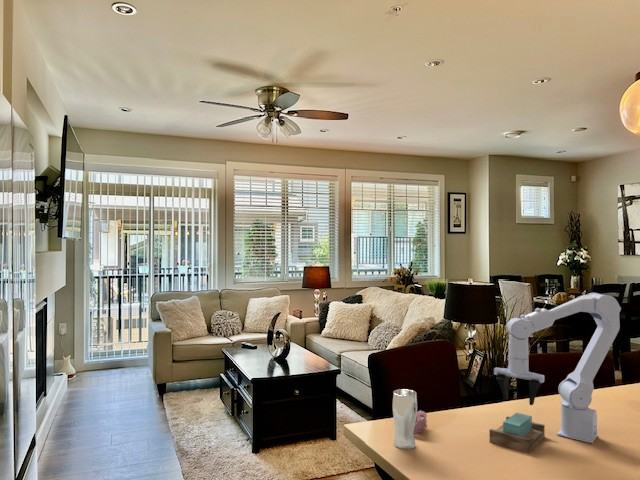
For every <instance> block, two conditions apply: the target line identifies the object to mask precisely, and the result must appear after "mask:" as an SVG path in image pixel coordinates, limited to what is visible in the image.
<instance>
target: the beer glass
mask: <svg viewBox="0 0 640 480" xmlns="http://www.w3.org/2000/svg"><path fill="white" fill-rule="evenodd" d="M392 393H393V395H392V396H393V397H392V415H393V422H394V428H395V433H394V434H395V435H394V440H393V445H394V446H395V447H396V448H399V449H401V450H412V449H414V448H416V439H415V435H414V428H415V423H416V417H417V412H418V399H417V398H418V396H417V392H416V391H415V390H413V389H407V388H403V389H402V388H401V389H400V388H398V389H395V390H393V392H392Z"/></svg>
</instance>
